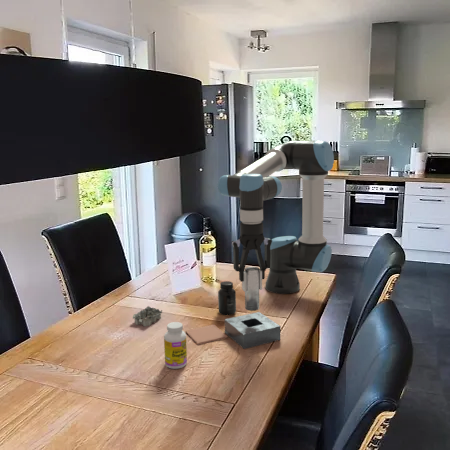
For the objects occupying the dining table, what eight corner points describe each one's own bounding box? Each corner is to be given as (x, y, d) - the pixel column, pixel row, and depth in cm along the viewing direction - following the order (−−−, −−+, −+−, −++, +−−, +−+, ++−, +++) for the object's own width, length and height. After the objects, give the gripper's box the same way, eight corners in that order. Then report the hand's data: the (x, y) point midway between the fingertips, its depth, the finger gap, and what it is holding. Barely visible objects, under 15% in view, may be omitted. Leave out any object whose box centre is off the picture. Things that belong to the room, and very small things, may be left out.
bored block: (259, 324, 170) (259, 311, 169) (280, 340, 158) (280, 326, 157) (224, 332, 164) (224, 319, 163) (243, 349, 152) (243, 334, 151)
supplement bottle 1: (170, 372, 139) (169, 331, 136) (161, 362, 144) (159, 323, 141) (190, 365, 142) (189, 326, 139) (181, 357, 148) (179, 318, 145)
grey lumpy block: (147, 328, 170) (146, 317, 169) (131, 324, 173) (130, 314, 172) (164, 317, 179) (164, 307, 178) (148, 314, 182) (148, 304, 182)
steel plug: (256, 304, 162) (256, 265, 159) (261, 309, 158) (261, 269, 155) (243, 306, 161) (243, 266, 158) (247, 311, 156) (247, 270, 153)
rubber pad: (213, 325, 170) (213, 324, 170) (227, 337, 160) (227, 336, 160) (185, 332, 165) (185, 330, 165) (197, 344, 156) (197, 342, 156)
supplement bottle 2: (236, 309, 185) (236, 280, 183) (235, 316, 179) (235, 286, 176) (219, 308, 186) (218, 280, 184) (217, 315, 179) (216, 285, 177)
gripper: (273, 217, 159) (273, 283, 164) (222, 221, 154) (223, 288, 159) (281, 222, 151) (280, 290, 156) (228, 225, 147) (229, 295, 152)
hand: (252, 289), depth 158 cm, fingers closed on steel plug, 5 cm apart
